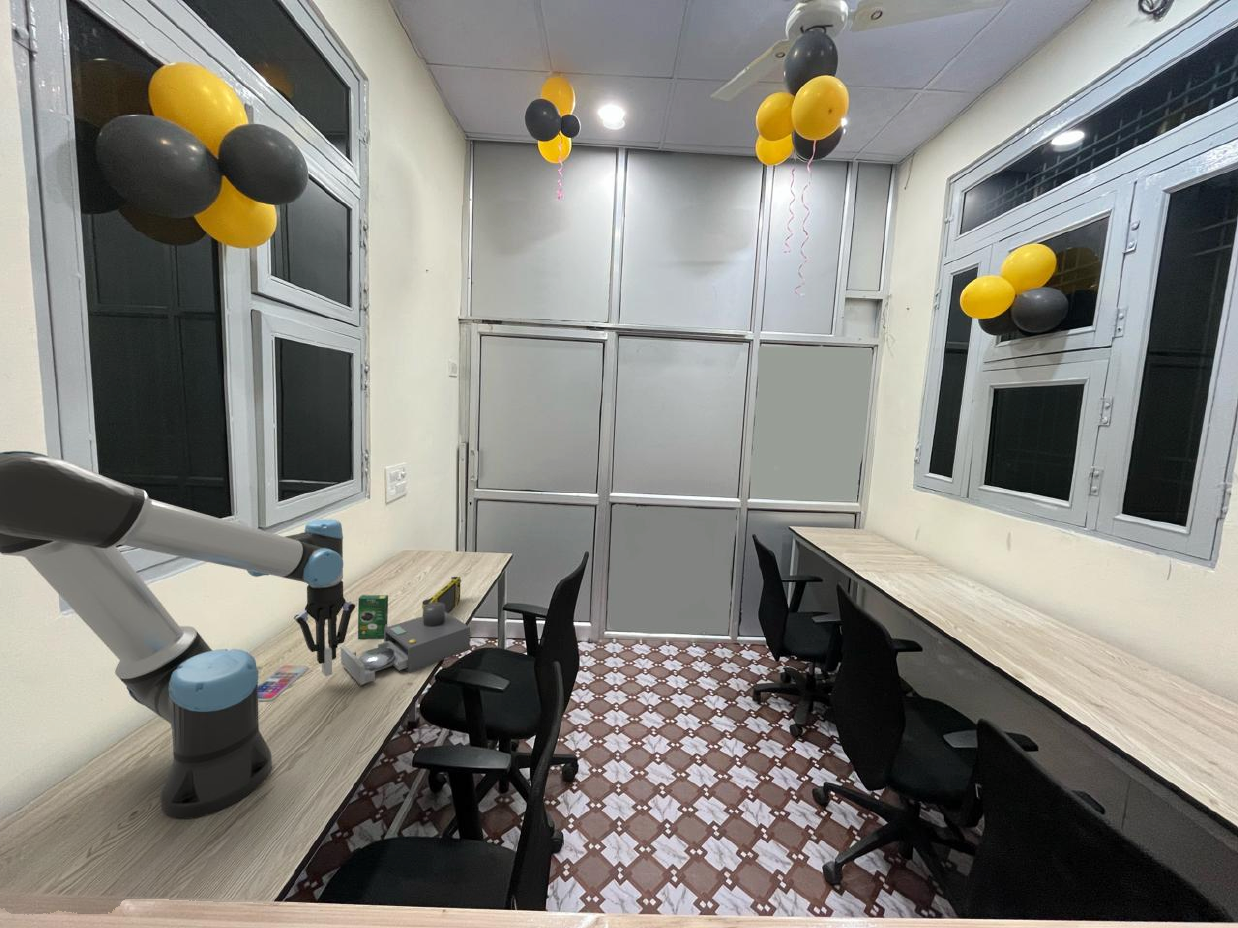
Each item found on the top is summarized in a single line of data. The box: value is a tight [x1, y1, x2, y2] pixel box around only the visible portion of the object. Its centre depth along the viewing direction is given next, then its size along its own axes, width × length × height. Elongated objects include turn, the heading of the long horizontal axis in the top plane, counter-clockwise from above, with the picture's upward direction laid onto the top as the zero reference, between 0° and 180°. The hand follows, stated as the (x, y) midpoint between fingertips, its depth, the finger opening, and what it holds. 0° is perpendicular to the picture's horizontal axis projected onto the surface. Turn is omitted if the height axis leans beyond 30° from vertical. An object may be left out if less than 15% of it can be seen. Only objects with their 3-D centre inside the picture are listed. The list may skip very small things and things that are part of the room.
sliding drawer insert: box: [340, 640, 408, 686], centre depth 123 cm, size 17×14×5 cm
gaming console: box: [421, 576, 462, 614], centre depth 156 cm, size 26×4×10 cm, turn 178°
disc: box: [358, 647, 394, 670], centre depth 122 cm, size 8×8×2 cm
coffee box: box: [357, 594, 389, 640], centre depth 138 cm, size 8×3×13 cm, turn 99°
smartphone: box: [258, 665, 310, 703], centre depth 114 cm, size 7×1×15 cm
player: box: [383, 602, 471, 674], centre depth 132 cm, size 18×16×12 cm
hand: (327, 672), depth 113 cm, fingers closed
